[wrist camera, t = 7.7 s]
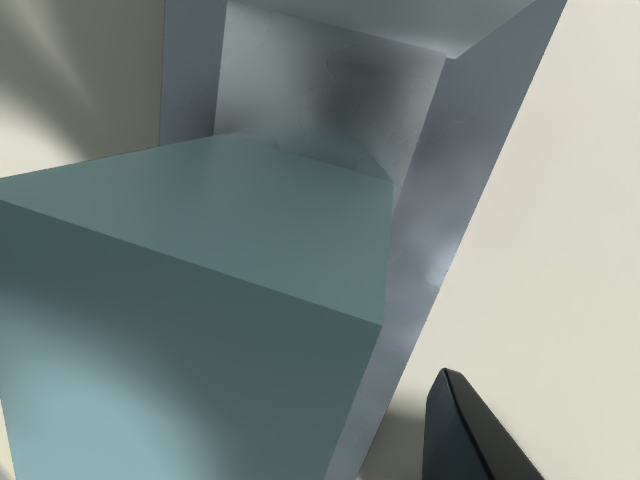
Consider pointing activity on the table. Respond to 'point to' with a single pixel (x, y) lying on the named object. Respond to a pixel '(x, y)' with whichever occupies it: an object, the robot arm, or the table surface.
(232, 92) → the rail bed
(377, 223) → the block
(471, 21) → the mounted modules
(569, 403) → the table surface
